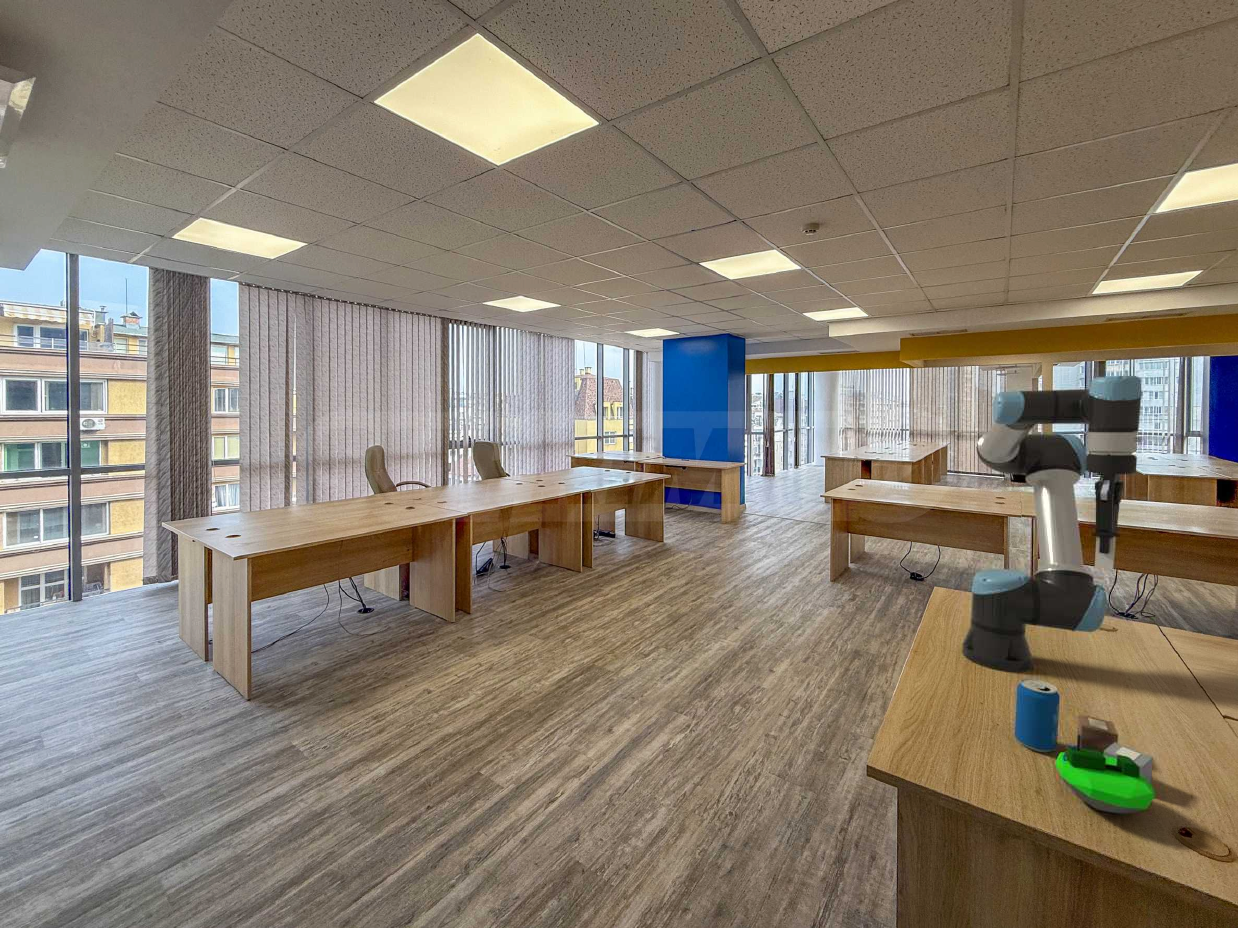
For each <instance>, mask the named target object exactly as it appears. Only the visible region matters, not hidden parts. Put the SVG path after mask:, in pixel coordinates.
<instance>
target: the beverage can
mask: <svg viewBox="0 0 1238 928" xmlns="http://www.w3.org/2000/svg"><path fill="white" fill-rule="evenodd" d="M1015 699H1016V700H1015V701H1016V702H1015V703H1016V704H1015V722H1014V724H1015V725H1014V737H1015V739H1016V740H1017V741H1018V742H1019V743H1020V744H1021V745H1022V746H1023V747H1026V749H1029V750H1032V751H1035V752H1039V753H1049V752H1052V751H1055V750H1056V749H1058V734H1059V733H1058V732H1059V719H1060V718H1059V716H1060V715H1059V713H1060V700H1061V698H1060V694H1059V693H1058V688H1057V687H1056V686H1055V685H1054V684H1052V683H1050V682H1047V681H1045V680H1042V679H1037V678H1031V677H1030V678H1029V677H1025V678H1021V679H1020V681H1019V683H1018V684H1017V685H1016V698H1015Z"/></svg>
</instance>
